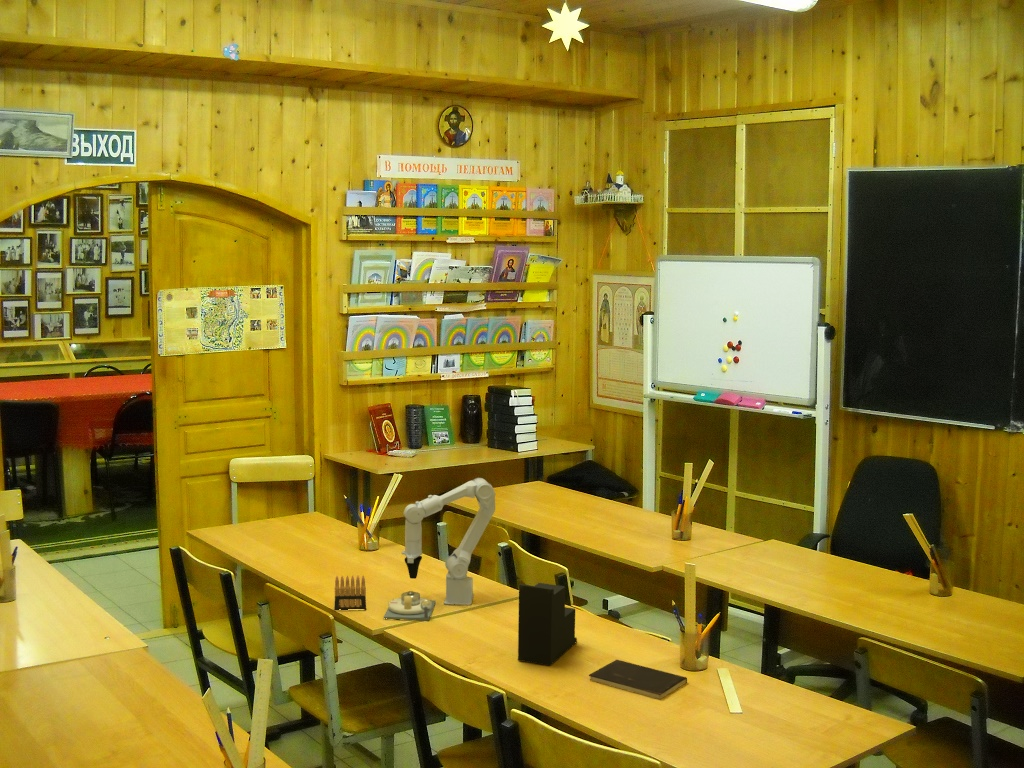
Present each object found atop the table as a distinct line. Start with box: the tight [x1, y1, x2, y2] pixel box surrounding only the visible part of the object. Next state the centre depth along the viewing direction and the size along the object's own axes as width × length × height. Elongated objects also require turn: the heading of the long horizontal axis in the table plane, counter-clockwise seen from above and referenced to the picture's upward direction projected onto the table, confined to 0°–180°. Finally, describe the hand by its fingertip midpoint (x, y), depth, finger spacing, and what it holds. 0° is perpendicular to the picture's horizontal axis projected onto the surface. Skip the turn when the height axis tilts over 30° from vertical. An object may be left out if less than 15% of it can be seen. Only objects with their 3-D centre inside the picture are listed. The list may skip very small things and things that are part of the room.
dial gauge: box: [421, 599, 432, 617], centre depth 369 cm, size 4×1×7 cm, turn 87°
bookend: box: [517, 582, 578, 666], centre depth 340 cm, size 23×11×24 cm, turn 157°
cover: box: [400, 590, 421, 606], centre depth 378 cm, size 6×6×4 cm
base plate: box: [383, 598, 437, 622], centre depth 378 cm, size 15×19×1 cm
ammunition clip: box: [333, 574, 367, 610], centre depth 378 cm, size 11×2×12 cm, turn 96°
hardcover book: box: [588, 659, 688, 700], centre depth 318 cm, size 16×23×2 cm
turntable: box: [388, 596, 432, 614], centre depth 378 cm, size 14×14×6 cm
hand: (413, 578), depth 384 cm, fingers closed
